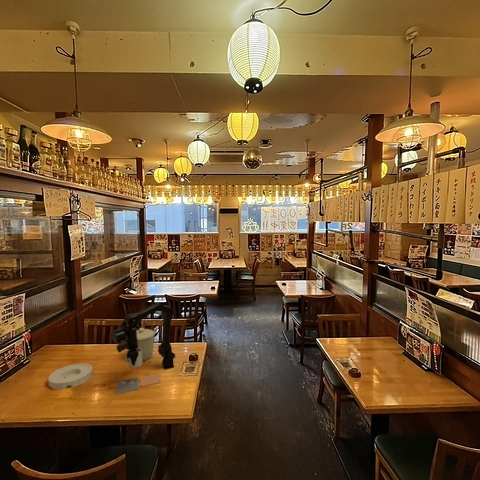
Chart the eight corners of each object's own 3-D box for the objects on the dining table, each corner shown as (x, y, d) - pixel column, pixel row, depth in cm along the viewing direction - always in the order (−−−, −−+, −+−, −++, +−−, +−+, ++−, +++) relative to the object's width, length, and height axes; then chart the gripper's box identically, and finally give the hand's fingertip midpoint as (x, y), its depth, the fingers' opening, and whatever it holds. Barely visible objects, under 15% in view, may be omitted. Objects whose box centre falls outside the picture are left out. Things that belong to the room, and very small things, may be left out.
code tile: (138, 377, 174) (138, 376, 174) (138, 389, 161) (138, 389, 161) (116, 381, 169) (116, 381, 169) (115, 394, 156) (115, 394, 156)
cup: (139, 368, 164) (138, 353, 164) (122, 368, 165) (121, 353, 165) (144, 362, 172) (143, 348, 171) (128, 362, 173) (127, 348, 172)
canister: (148, 349, 213) (147, 321, 212) (160, 356, 200) (159, 327, 199) (124, 357, 200) (122, 328, 199) (136, 366, 187) (134, 335, 186)
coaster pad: (158, 374, 176) (158, 373, 176) (160, 382, 167) (160, 382, 167) (139, 378, 172) (139, 377, 172) (140, 387, 163) (140, 386, 163)
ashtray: (74, 367, 189) (73, 361, 189) (101, 372, 182) (100, 366, 181) (39, 386, 168) (38, 379, 167) (68, 393, 160) (67, 386, 160)
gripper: (117, 333, 173) (119, 358, 174) (116, 345, 155) (118, 373, 156) (137, 330, 177) (138, 354, 178) (137, 341, 159) (139, 368, 160)
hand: (133, 362), depth 168 cm, fingers closed on cup, 7 cm apart
